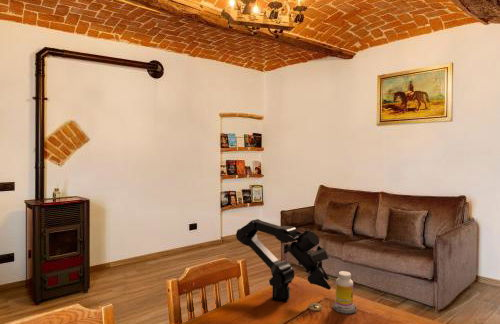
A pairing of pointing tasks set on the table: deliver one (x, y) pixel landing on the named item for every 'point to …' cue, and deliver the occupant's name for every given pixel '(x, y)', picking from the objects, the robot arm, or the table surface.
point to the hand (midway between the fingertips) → (329, 283)
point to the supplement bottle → (344, 290)
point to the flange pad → (344, 309)
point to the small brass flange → (315, 307)
